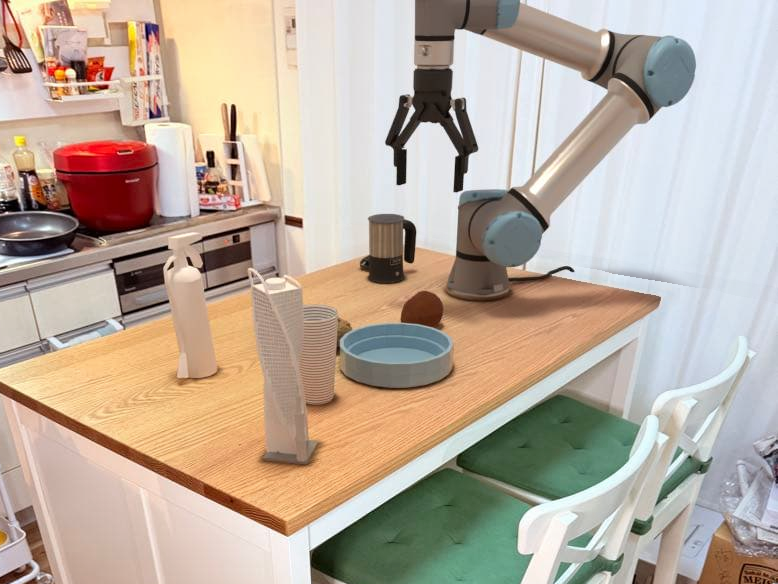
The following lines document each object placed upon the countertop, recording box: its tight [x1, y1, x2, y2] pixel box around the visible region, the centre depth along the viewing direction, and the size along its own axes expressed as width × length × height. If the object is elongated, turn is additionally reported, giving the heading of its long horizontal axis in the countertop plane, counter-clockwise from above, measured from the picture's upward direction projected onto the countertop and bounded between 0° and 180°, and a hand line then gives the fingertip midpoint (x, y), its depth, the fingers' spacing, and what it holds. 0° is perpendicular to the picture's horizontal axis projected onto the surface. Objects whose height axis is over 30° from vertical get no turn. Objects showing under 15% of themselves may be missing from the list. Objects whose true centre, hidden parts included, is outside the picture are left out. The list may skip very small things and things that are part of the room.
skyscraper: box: [247, 267, 319, 466], centre depth 114 cm, size 8×8×28 cm
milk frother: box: [359, 213, 417, 284], centre depth 196 cm, size 14×16×15 cm
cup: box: [299, 304, 339, 405], centre depth 133 cm, size 8×8×16 cm
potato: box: [400, 290, 445, 328], centre depth 165 cm, size 8×12×8 cm, turn 140°
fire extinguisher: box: [162, 231, 218, 379], centre depth 140 cm, size 7×12×25 cm, turn 153°
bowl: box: [339, 322, 455, 389], centre depth 148 cm, size 22×22×5 cm
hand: (429, 187), depth 159 cm, fingers open, 13 cm apart
